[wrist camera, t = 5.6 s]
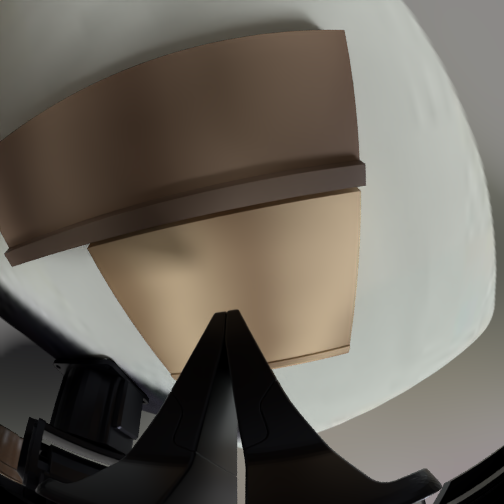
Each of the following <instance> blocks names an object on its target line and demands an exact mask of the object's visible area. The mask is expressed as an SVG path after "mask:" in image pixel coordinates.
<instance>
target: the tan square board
mask: <svg viewBox="0 0 504 504" xmlns="http://www.w3.org/2000/svg"><path fill="white" fill-rule="evenodd" d="M360 219H361V191H360V190H359V189H358V188H357V187H353V188H346V189H340V190H334V191H327V192H321V193H315V194H309V195H304V196H298V197H292V198H287V199H281V200H276V201H271V202H265V203H260V204H255V205H250V206H245V207H240V208H235V209H230V210H225V211H221V212H216V213H211V214H207V215H202V216H197V217H193V218H189V219H184V220H180V221H176V222H171V223H167V224H163V225H159V226H154V227H150V228H146V229H142V230H138V231H134V232H130V233H127V234H123V235H119V236H115V237H111V238H107V239H104V240H100V241H96V242H93V243H90V245H89V246H88V248H87V249H88V251H89V253H90V254H91V256H92V258H93V260H94V262H95V263H96V265H97V267H98V269H99V270H100V272H101V274H102V276H103V277H104V279H105V281H106V282H107V284H108V286H109V287H110V289H111V290H112V292H113V294H114V295H115V297H116V298H117V300H118V302H119V303H120V305H121V306H122V308H123V309H124V311H125V312H126V314H127V315H128V317H129V318H130V320H131V321H132V323H133V324H134V325H135V327H136V328H137V330H138V331H139V333H140V334H141V335H142V337H143V338H144V340H145V341H146V342H147V344H148V345H149V346H150V348H151V349H152V350H153V352H154V353H155V354H156V356H157V357H158V358H159V359H160V361H161V362H162V363H163V365H164V366H165V367H166V368H167V370H168V371H169V372H170V373H171V376H172V377H173V378H174V380H177V379H178V377H179V375H180V374H181V372H182V370H183V368H184V366H185V365H186V363H187V361H188V359H189V357H190V356H191V354H192V352H193V350H194V349H195V347H196V345H197V343H198V341H199V340H200V338H201V336H202V334H203V332H204V331H205V329H206V327H207V325H208V324H209V322H210V320H211V318H212V316H213V315H214V313H216V312H222V311H226V312H227V311H228V310H234V309H238V310H239V311H240V313H241V315H242V316H243V318H244V320H245V322H246V324H247V326H248V328H249V329H250V331H251V333H252V335H253V337H254V339H255V340H256V342H257V344H258V346H259V348H260V350H261V351H262V353H263V355H264V357H265V359H266V360H267V362H268V364H269V366H270V368H271V369H276V368H281V367H287V366H292V365H297V364H302V363H307V362H311V361H316V360H320V359H325V358H329V357H333V356H337V355H341V354H345V353H348V352H349V349H350V338H351V331H352V323H353V315H354V307H355V297H356V287H357V276H358V262H359V245H360Z"/></svg>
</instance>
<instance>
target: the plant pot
mask: <svg viewBox="0 0 504 504" xmlns="http://www.w3.org/2000/svg"><path fill="white" fill-rule="evenodd" d="M23 439H24V438H21V437H19V436H18V435H17V434H16V433H14V432H12V431H11V430H9V429H8V428H6V427H3V426H2V425H0V473H1V474H2V475H4V476H6V477H8V478H10V479H11V480H13V481H16V482H18V483H20V484H22V482H23V480H22V479H21V477H20V476H19V474H18V472H17V466H18V461H19V456H20V451H21V447H22V443H23Z"/></svg>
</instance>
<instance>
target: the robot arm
mask: <svg viewBox="0 0 504 504" xmlns="http://www.w3.org/2000/svg"><path fill="white" fill-rule="evenodd" d="M53 365H54V367H55V368H56V369H58V371H60V372H61V373H62V374H63V375H64V377H63V380H62V383H61V386H60V389H59V392H58V396H57V399H56V402H55V406H54V410H53V413H52V417H51V421H50V424H48V423H46V421H44V420H43V419H41V418H39V420H36V419H33V418H31V417H29V420H28V423H27V427H26V431H25V435H24V439H23V443H22V447H21V451H20V456H19V461H18V466H17V472H18V474H19V476H20V477H21V479H22V480H23V482H22V484H20V483H18V482H16V481H13V480H11V479H9V478H7V477H5V476H3V475H1V474H0V504H237V477H236V476H237V420H238V425H239V431H240V437H241V442H242V447H243V450H244V457H245V466H246V484H245V486H246V487H245V490H246V491H245V493H246V494H245V504H426V503H425V498H427V497H429V496H430V495H432V494H434V493H436V492H437V491H439V490H440V489H441V488H442V490H441V491H440V493H439V494H438V496H437V498H436V500H435V502H434V503H433V504H504V446H502V447H501V448H499V449H498V450H496V451H495V452H494V453H492V454H491V455H490V456H488V457H487V458H485V459H484V460H482V461H481V462H479V463H478V464H476V465H475V466H473V467H472V468H470V469H468V470H467V471H465V472H463V473H462V474H460V475H458V476H457V477H455V478H453V479H451V480H450V481H448V482H446V483H444V485H443V487H442V485H441V483H440V482H439V481H438V480H437V479H436V478H435V477H434V476H433V475H432V474H431V473H430V471H429V470H428V469H422V470H419V471H417V472H415V473H412V474H410V475H408V476H405V477H403V478H400V479H398V480H395V481H392V482H379V481H375V480H373V479H371V478H370V477H368V476H367V475H366V474H364V473H363V472H361V471H360V470H358V469H357V468H356V467H354V466H353V465H352V464H350V463H349V462H347V461H346V460H345V459H344V458H342V457H341V456H340V455H338V454H337V453H336V452H335V451H333V450H332V449H331V448H330V447H329V446H328V445H327V444H326V443H325V442H324V441H323V439H321V437H320V436H319V435H318V434H317V433H316V432H315V430H314V429H313V428H312V427H311V426H310V425H309V423H308V422H307V421H306V420H305V419H304V417H303V416H302V415H301V414H300V413H299V411H298V410H297V409H296V408H295V406H294V405H293V404H292V402H291V401H290V399H289V398H288V396H287V395H286V393H285V392H284V390H283V388H282V387H281V385H280V383H279V381H278V380H277V378H276V376H275V375H274V373H273V371H272V369H271V368H270V366H269V364H268V362H267V360H266V359H265V357H264V355H263V353H262V351H261V350H260V348H259V346H258V344H257V342H256V340H255V339H254V337H253V335H252V333H251V331H250V329H249V328H248V326H247V324H246V322H245V320H244V318H243V316H242V315H241V313H240V311H239V310H238V309H234V310H228V311H227V312H226V311H222V312H216V313H214V315H213V316H212V318H211V320H210V322H209V324H208V325H207V327H206V329H205V331H204V332H203V334H202V336H201V338H200V340H199V341H198V343H197V345H196V347H195V349H194V350H193V352H192V354H191V356H190V357H189V359H188V361H187V363H186V365H185V366H184V368H183V370H182V372H181V374H180V375H179V377H178V379H177V381H176V383H175V384H174V386H173V388H172V390H171V391H172V392H170V393H169V395H168V397H167V398H166V400H165V402H164V404H163V405H162V407H161V409H160V410H159V412H158V413H157V415H156V416H155V418H154V419H153V421H152V422H151V424H150V425H149V426H148V428H147V429H146V431H145V432H144V433H143V435H142V436H141V437H140V439H139V440H138V442H137V443H136V444H135V445H134V447H133V448H132V445H133V440H136V439H137V438H138V433H139V426H140V418H141V411H142V404H148V403H149V398H148V397H147V396H146V395H145V394H144V393H143V392H142V391H141V390H140V389H139V388H138V387H137V386H136V385H135V384H134V383H133V382H132V381H131V380H130V379H129V378H128V377H127V376H126V375H125V374H124V373H123V372H122V371H121V370H120V368H119V367H118V366H117V365H116V364H115V363H114V362H113V361H111V360H106V359H104V360H55V361H54V364H53ZM42 438H44V439H46V440H48V441H50V442H52V443H54V444H56V445H59V446H61V447H63V448H65V449H67V450H70V451H72V452H75V453H77V454H80V455H82V456H85V457H87V458H90V459H93V460H95V461H98V462H101V463H104V464H107V465H110V466H109V467H107V466H104V465H101V464H98V463H95V462H93V461H90V460H87V459H84V458H82V457H79V456H77V455H74V454H72V453H69V452H67V451H65V450H63V449H60V448H58V447H56V446H53V445H52V444H51V445H50V446H49V445H47V444H44V443H42Z"/></svg>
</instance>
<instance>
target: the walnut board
mask: <svg viewBox="0 0 504 504" xmlns="http://www.w3.org/2000/svg"><path fill="white" fill-rule="evenodd" d="M360 186H366V170H365V164H364V163H363V162H362V161H360V160H359V142H358V127H357V115H356V105H355V96H354V87H353V80H352V72H351V66H350V59H349V53H348V47H347V42H346V36H345V31H344V30H305V31H289V32H277V33H268V34H260V35H252V36H246V37H240V38H234V39H228V40H223V41H218V42H214V43H209V44H205V45H201V46H197V47H193V48H189V49H185V50H182V51H178V52H175V53H171V54H168V55H165V56H162V57H159V58H156V59H153V60H150V61H147V62H144V63H141V64H139V65H136V66H134V67H131V68H128V69H126V70H123V71H121V72H119V73H116V74H114V75H112V76H109V77H107V78H105V79H103V80H100V81H98V82H96V83H94V84H92V85H90V86H88V87H86V88H84V89H82V90H80V91H78V92H76V93H74V94H72V95H71V96H69V97H67V98H65V99H63V100H62V101H60V102H58V103H56V104H55V105H53V106H51V107H50V108H48V109H46V110H45V111H43V112H42V113H40V114H38V115H37V116H35V117H34V118H32V119H31V120H29V121H28V122H26V123H25V124H24V125H22V126H21V127H19V128H18V129H17V130H15V131H14V132H12V133H11V134H10V135H8V136H7V137H6V138H4V139H3V140H2V141H1V142H0V231H1V233H2V235H3V237H4V239H5V241H6V243H7V245H8V247H9V249H8V250H7V251H6V252H5V253H4V254H5V256H6V258H7V259H8V261H9V263H10V264H11V266H12V267H13V266H16V265H19V264H22V263H25V262H29V261H32V260H35V259H38V258H41V257H45V256H48V255H51V254H54V253H58V252H61V251H65V250H68V249H71V248H75V247H78V246H82V245H86V244H89V243H93V242H96V241H100V240H104V239H107V238H111V237H115V236H119V235H123V234H127V233H130V232H134V231H138V230H142V229H146V228H150V227H154V226H159V225H163V224H167V223H171V222H176V221H180V220H184V219H189V218H193V217H197V216H202V215H207V214H211V213H216V212H221V211H225V210H230V209H235V208H240V207H245V206H250V205H255V204H260V203H265V202H271V201H276V200H281V199H287V198H292V197H298V196H304V195H309V194H315V193H321V192H327V191H334V190H340V189H346V188H353V187H360Z"/></svg>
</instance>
